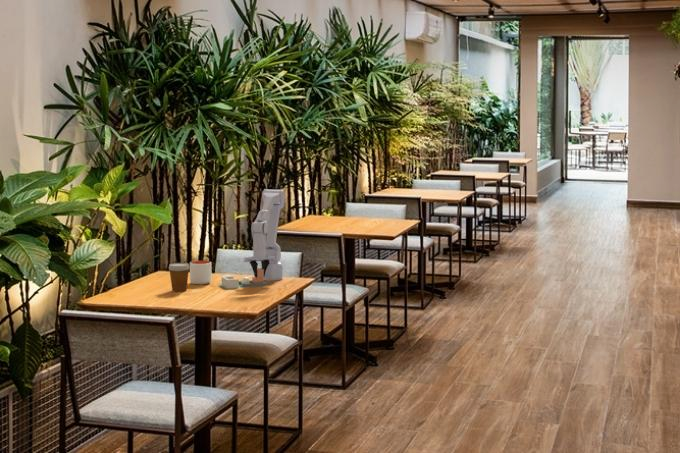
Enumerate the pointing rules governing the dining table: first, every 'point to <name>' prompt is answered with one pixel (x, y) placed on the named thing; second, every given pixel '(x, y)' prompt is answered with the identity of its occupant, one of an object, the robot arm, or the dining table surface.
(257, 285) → the pitch board
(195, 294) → the dining table surface
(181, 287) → the disposable coffee cup
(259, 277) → the figure
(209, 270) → the cup
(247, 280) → the ball
